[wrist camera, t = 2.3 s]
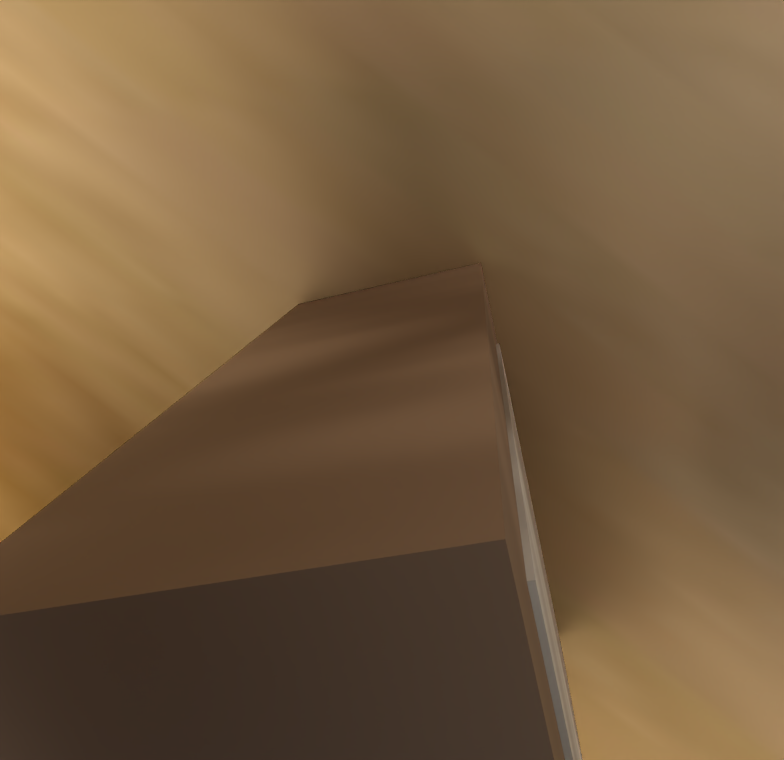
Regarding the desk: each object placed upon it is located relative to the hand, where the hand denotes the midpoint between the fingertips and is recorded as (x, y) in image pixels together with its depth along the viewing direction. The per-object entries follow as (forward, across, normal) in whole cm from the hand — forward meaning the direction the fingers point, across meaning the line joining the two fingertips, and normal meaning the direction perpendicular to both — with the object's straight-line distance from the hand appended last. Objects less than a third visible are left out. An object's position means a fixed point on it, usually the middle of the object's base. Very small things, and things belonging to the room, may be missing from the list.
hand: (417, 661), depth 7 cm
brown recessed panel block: (+4, 0, 0) cm, 4 cm away
